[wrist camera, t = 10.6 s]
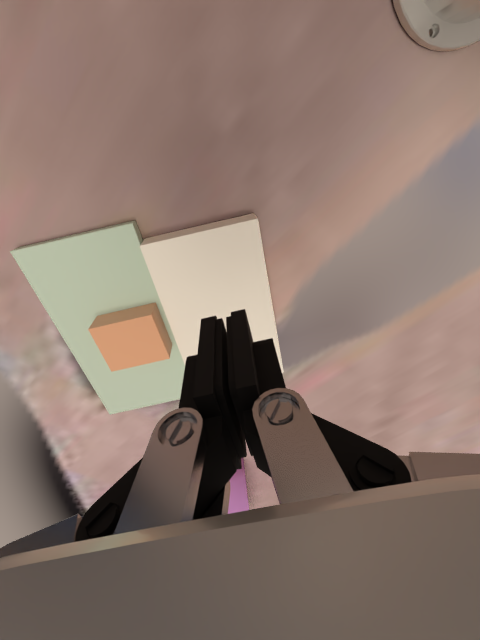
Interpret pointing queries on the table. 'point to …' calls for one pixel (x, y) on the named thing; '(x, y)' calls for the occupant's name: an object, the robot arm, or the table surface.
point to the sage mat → (102, 307)
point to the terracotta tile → (131, 337)
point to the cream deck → (212, 278)
